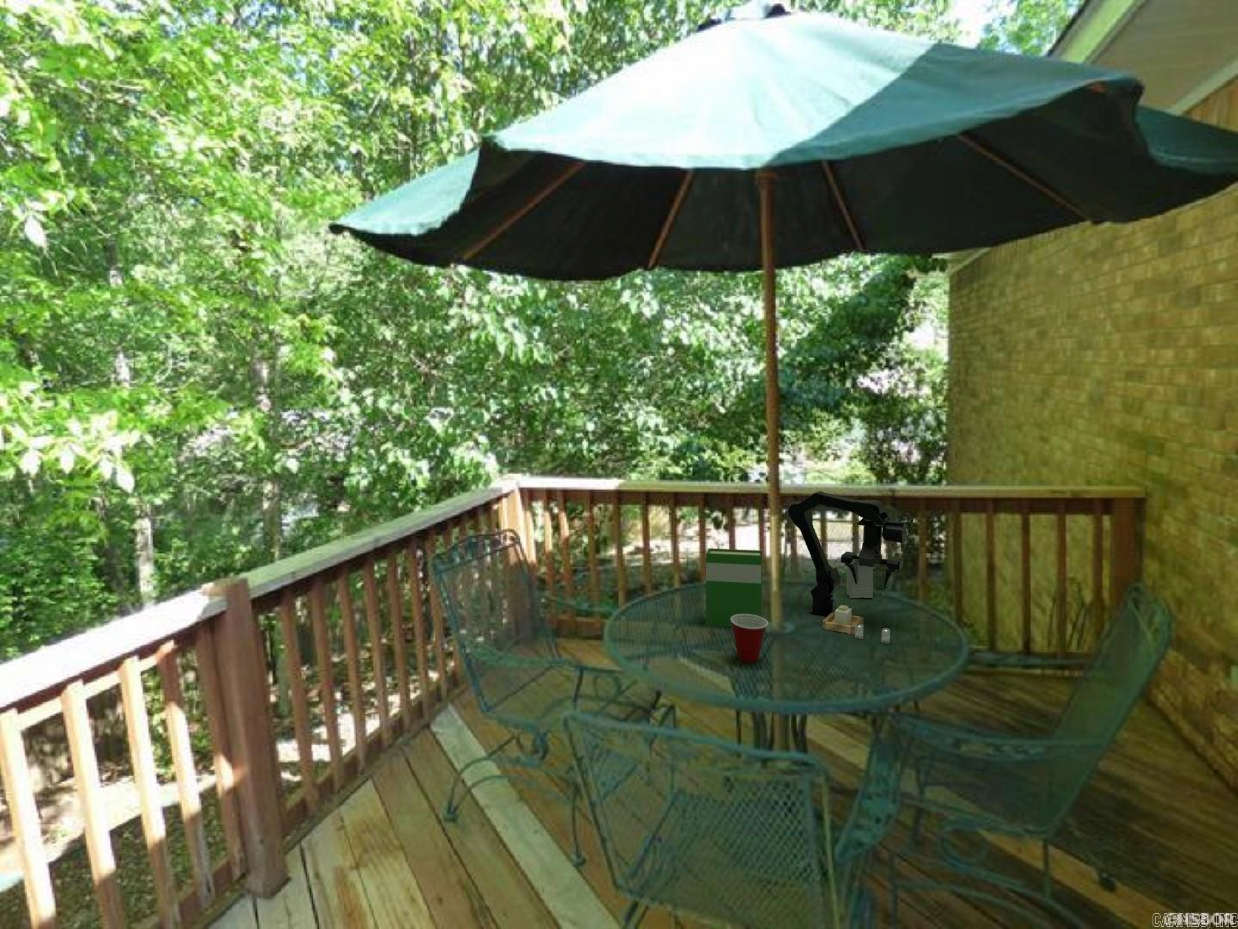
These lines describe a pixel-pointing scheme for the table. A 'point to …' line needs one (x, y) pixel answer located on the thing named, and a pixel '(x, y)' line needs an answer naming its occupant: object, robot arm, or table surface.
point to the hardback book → (732, 584)
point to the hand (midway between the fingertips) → (870, 586)
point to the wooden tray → (849, 629)
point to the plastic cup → (748, 636)
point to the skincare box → (860, 582)
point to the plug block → (843, 615)
